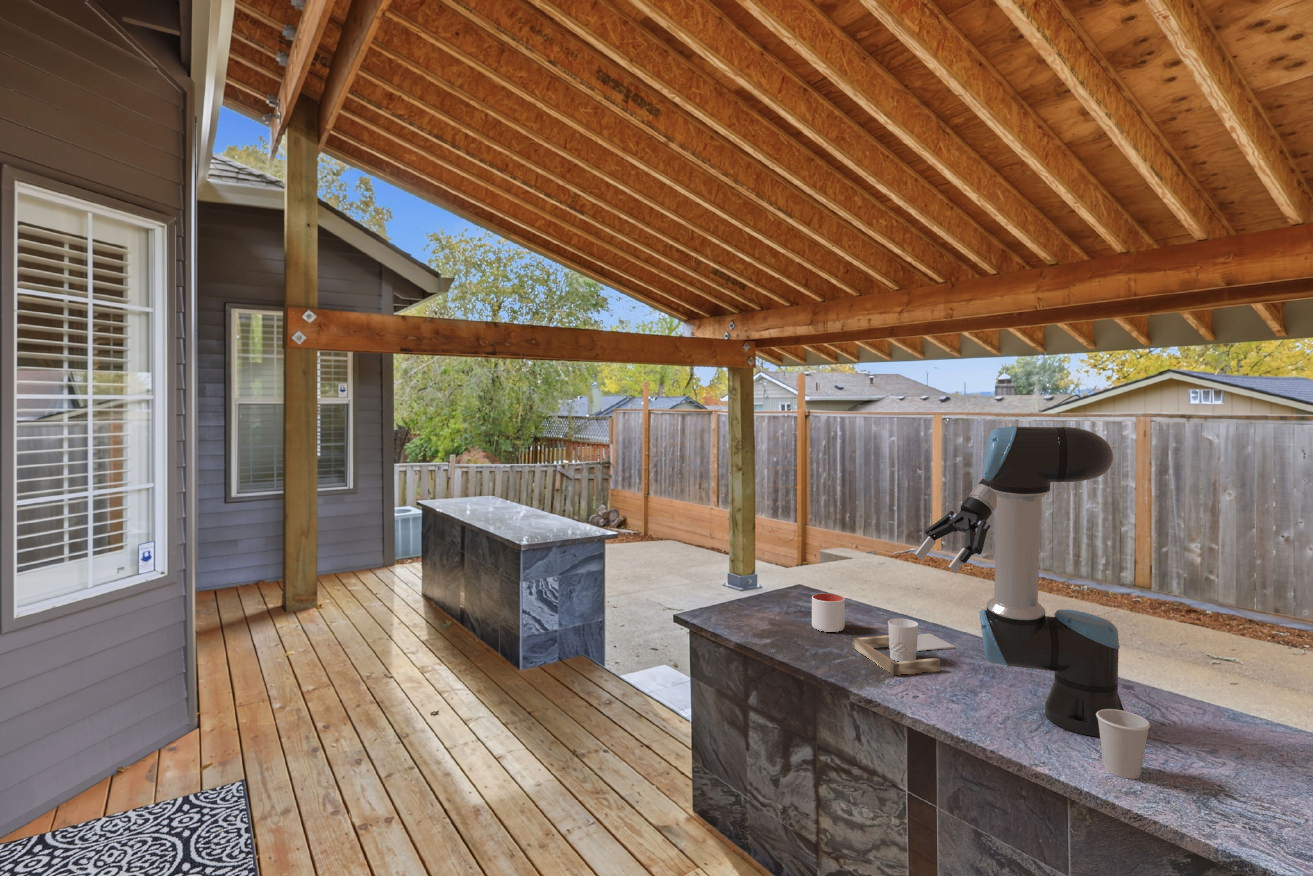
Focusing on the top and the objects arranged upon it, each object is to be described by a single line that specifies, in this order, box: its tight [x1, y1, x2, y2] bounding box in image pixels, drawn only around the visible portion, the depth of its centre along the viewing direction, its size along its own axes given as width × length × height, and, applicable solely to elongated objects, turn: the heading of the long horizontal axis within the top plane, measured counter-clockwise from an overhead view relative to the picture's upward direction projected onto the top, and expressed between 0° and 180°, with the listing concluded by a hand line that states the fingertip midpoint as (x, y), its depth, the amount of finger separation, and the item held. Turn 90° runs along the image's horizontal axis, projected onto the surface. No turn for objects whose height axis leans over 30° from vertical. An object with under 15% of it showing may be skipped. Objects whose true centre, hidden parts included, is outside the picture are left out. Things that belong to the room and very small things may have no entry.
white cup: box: [887, 618, 919, 662], centre depth 186 cm, size 8×8×10 cm
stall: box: [851, 634, 941, 676], centre depth 185 cm, size 14×21×3 cm, turn 13°
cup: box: [811, 592, 846, 633], centre depth 212 cm, size 10×10×10 cm
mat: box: [916, 633, 956, 652], centre depth 199 cm, size 12×12×1 cm
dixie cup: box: [1096, 709, 1151, 780], centre depth 127 cm, size 8×8×10 cm
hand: (934, 563), depth 186 cm, fingers open, 13 cm apart
